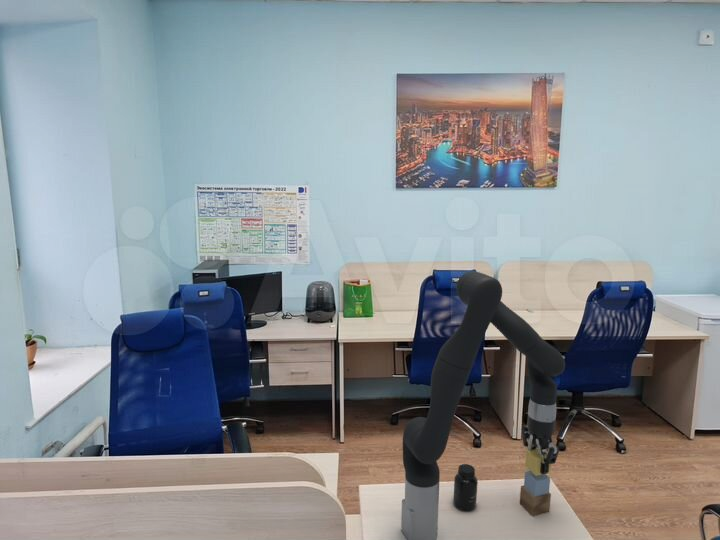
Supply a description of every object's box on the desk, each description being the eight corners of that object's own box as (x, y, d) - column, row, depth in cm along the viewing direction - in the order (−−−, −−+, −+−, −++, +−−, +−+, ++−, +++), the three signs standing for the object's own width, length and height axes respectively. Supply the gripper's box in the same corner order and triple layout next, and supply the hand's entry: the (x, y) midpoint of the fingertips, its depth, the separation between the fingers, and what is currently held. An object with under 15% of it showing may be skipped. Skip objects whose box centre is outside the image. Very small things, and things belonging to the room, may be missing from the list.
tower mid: (534, 496, 145) (535, 481, 144) (523, 486, 150) (525, 471, 149) (548, 493, 147) (550, 478, 146) (537, 483, 152) (539, 468, 151)
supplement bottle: (476, 513, 147) (478, 476, 145) (452, 510, 148) (454, 473, 146) (476, 498, 154) (477, 463, 151) (453, 495, 155) (455, 460, 153)
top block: (536, 475, 144) (537, 459, 143) (525, 466, 149) (526, 450, 148) (550, 472, 146) (551, 456, 145) (539, 463, 150) (540, 447, 149)
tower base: (532, 516, 146) (533, 498, 145) (519, 503, 151) (520, 486, 150) (549, 512, 148) (550, 494, 147) (536, 499, 153) (537, 482, 152)
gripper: (515, 405, 149) (512, 457, 153) (547, 428, 136) (543, 484, 139) (536, 401, 152) (532, 453, 155) (570, 424, 138) (565, 479, 142)
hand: (537, 467), depth 147 cm, fingers closed on top block, 5 cm apart
